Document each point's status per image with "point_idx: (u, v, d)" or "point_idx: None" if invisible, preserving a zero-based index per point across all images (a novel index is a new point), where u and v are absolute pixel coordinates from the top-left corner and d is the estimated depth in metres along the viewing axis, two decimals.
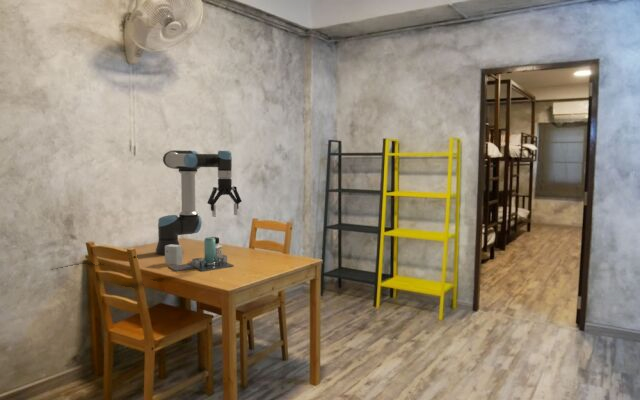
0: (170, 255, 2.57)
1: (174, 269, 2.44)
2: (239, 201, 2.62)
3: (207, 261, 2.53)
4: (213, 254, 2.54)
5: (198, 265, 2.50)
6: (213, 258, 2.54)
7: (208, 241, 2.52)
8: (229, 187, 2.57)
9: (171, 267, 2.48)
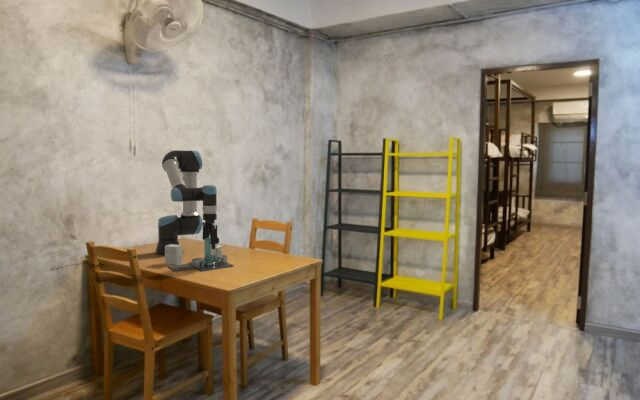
0: (170, 255, 2.57)
1: (174, 269, 2.44)
2: (213, 241, 2.50)
3: (207, 261, 2.53)
4: None
5: (198, 265, 2.50)
6: (213, 258, 2.54)
7: (208, 241, 2.52)
8: (210, 222, 2.51)
9: (171, 267, 2.48)
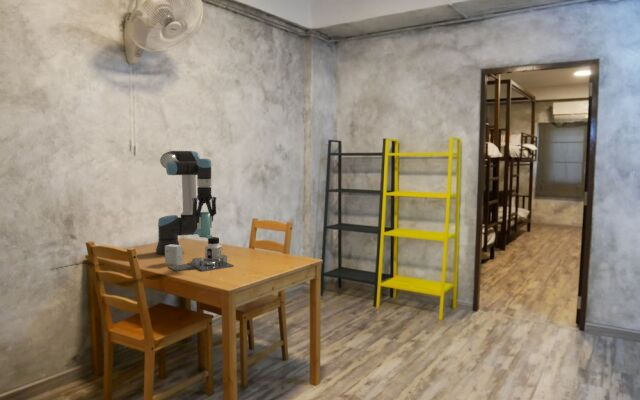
0: (170, 255, 2.57)
1: (174, 269, 2.44)
2: (214, 213, 2.56)
3: (209, 235, 2.53)
4: None
5: (198, 265, 2.50)
6: None
7: (209, 214, 2.53)
8: (209, 195, 2.53)
9: (171, 267, 2.48)
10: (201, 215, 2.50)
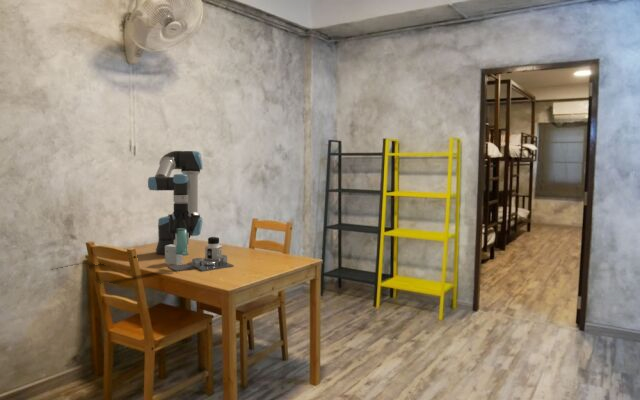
0: (170, 255, 2.57)
1: (174, 269, 2.44)
2: (191, 229, 2.51)
3: None
4: None
5: (198, 265, 2.50)
6: None
7: (186, 231, 2.48)
8: (186, 211, 2.48)
9: (171, 267, 2.48)
10: (177, 232, 2.45)
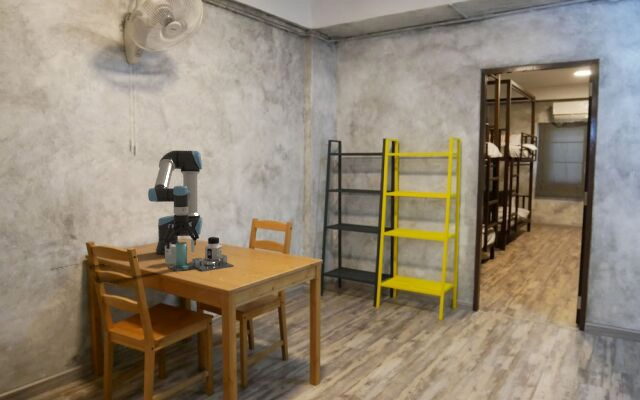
0: (170, 255, 2.57)
1: (174, 269, 2.44)
2: (196, 237, 2.53)
3: (186, 265, 2.49)
4: None
5: (198, 265, 2.50)
6: None
7: (186, 245, 2.48)
8: (186, 223, 2.48)
9: (171, 267, 2.48)
10: (177, 246, 2.46)
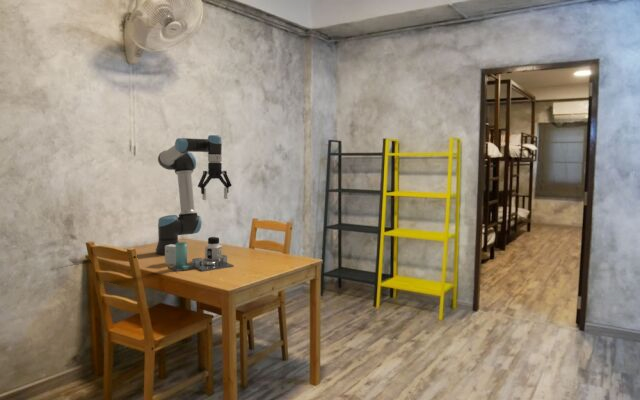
0: (170, 255, 2.57)
1: (174, 269, 2.44)
2: (229, 185, 2.67)
3: (186, 265, 2.49)
4: None
5: (198, 265, 2.50)
6: None
7: (186, 245, 2.48)
8: (219, 171, 2.62)
9: (171, 267, 2.48)
10: (177, 246, 2.46)
